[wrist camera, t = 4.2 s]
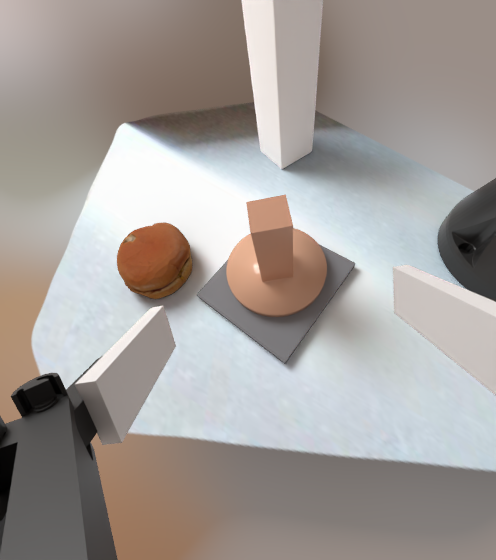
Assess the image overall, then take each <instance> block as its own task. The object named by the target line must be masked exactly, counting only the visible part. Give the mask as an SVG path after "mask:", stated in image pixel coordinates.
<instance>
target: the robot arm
mask: <svg viewBox="0 0 496 560" xmlns="http://www.w3.org/2000/svg"><path fill="white" fill-rule="evenodd" d="M438 248H439V252H440V255H441V257H442V260H443V262H444V263H445V265H446V267H447V268H448V270H449V271H450V272H451V274H452V275H453V276H454V277H455V278H456V279H457V280H458V281H459V282H460V283H461V284H462V285H463V286H465V287H466V288H467V289H468V290H467V289H464V288H462V287H459V286H457V285H455V284H452V283H450V282H448V281H445V280H443V279H440V278H438V277H436V276H433V275H431V274H428V273H426V272H424V271H421V270H419V269H417V268H414V267H412V266H409V265H403V266H397V267H393V283H394V313H395V314H396V315H397V316H399V317H400V318H401V319H402V320H404V321H405V322H406V323H407V324H409V325H410V326H411V327H412V328H413V329H415V330H416V331H417V332H418V333H420V334H421V335H422V336H423V337H425V338H426V339H427V340H428V341H429V342H431V343H432V344H433V345H434V346H436V347H437V348H438V349H439V350H441V351H442V352H443V353H444V354H445V355H447V356H448V357H449V358H450V359H452V360H453V361H454V362H455V363H457V364H458V365H459V366H460V367H461V368H463V369H464V370H465V371H466V372H468V373H469V374H470V375H471V376H473V377H474V378H475V379H476V380H477V381H479V382H480V383H481V384H482V385H484V386H485V387H486V388H487V389H489V390H490V391H491V392H492V393H493V394H495V395H496V178H495V179H494V180H492V181H491V182H489V183H487V184H486V185H484V186H483V187H481V188H480V189H478V190H476V191H475V192H473V193H472V194H470V195H468V196H467V197H465V198H464V199H463V200H461V201H460V202H459V203H458V204H457V205H456V206H455V207H454V208H453V210H452V211H451V212H450V213H449V215H448V216H447V217H446V218H445V220H444V221H443V223H442V225H441V227H440V229H439V233H438ZM469 290H470V291H469ZM175 347H176V345H175V342H174V338H173V335H172V332H171V328H170V325H169V322H168V319H167V315H166V312H165V309H164V306H158V307H152V308H150V309H149V310H148V311H147V312H146V313H145V314H144V315H143V316H142V317H141V318H140V319H139V320H138V321H137V322H136V323H135V324H134V325H133V326H132V327H131V328H130V329H129V330H128V331H127V332H126V333H125V334H124V335H123V336H122V337H121V338H120V339H119V340H118V341H117V342H116V343H115V344H114V345H113V346H112V347H111V348H110V349H109V350H108V351H107V352H106V353H105V354H104V355H103V356H102V357H100V358H99V359H97V360H96V361H95V362H94V363H93V364H92V365H91V366H90V367H89V369H87V370H86V371H85V372H84V373H83V375H81V376H80V377H79V378H78V379H77V380H76V381H75V382H74V383H73V384H72V385H71V386H70V387H69V388H68V389H67V390H66V389H65V387H64V385H63V383H62V381H61V379H60V377H59V375H58V374H57V373H49V374H45V375H42V376H39V377H36V378H34V379H32V380H30V381H28V382H27V383H25V384H24V385H22V386H20V387H19V388H18V389H17V390H16V391H14V392H13V394H12V395H11V398H12V400H13V402H14V403H15V405H16V407H17V409H18V411H19V412H20V414H21V416H22V418H21V419H18V420H15V421H12V422H9V423H6V424H5V423H4V422H3V420H2V418H1V417H0V560H117V555H116V550H115V546H114V541H113V536H112V532H111V527H110V522H109V518H108V513H107V508H106V504H105V500H104V494H103V490H102V485H101V480H100V476H99V471H98V466H97V462H96V457H95V452H94V449H93V446H92V444H91V443H90V442H91V440H92V439H93V437H94V436H95V435H96V433H97V434H98V436H99V438H100V440H101V442H102V445H105V444H114V443H122V441H123V440H124V438H125V436H126V434H127V432H128V431H129V429H130V427H131V425H132V424H133V422H134V420H135V418H136V416H137V415H138V413H139V411H140V409H141V407H142V406H143V404H144V402H145V400H146V399H147V397H148V395H149V393H150V391H151V390H152V388H153V386H154V384H155V383H156V381H157V379H158V377H159V375H160V374H161V372H162V370H163V368H164V367H165V365H166V363H167V361H168V359H169V358H170V356H171V354H172V352H173V350H174V349H175Z"/></svg>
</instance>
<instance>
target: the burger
mask: <svg viewBox="0 0 496 560" xmlns="http://www.w3.org/2000/svg"><path fill="white" fill-rule="evenodd" d="M117 266H118V271H119V274H120V275H121V277H122V278H123V280H124V282H125V285H126V286H128V288H129V289H130V290H131V291H133V292H135V293H138V294H141V295H144V296H147V297H149V298H153V299H159V298H162V297H165V296H168V295H170V294H172V293H174V292H175V291H176V290H178V289H179V288H180V287H181V286H182V285H183V284H184V283H185V282H186V280H187V279H188V277H189V276H190V273H191V271H192V258H191V253H190V245H189V243H188V241H187V239H186V238H185V237H184V235H183V234H182V233H181V232H180V231H179V229H177V228H176V227H175V226H173V225H171V224H169V223H156V224H154V225H153V226H146V227H143V228H140V229H137V230H134V231H133V232H131V233H130V234H129V235H128V236H127V237H126V238H125V239H124V240H123V242H122V243H121V245H120V248H119V251H118V255H117Z"/></svg>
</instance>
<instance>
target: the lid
mask: <svg viewBox="0 0 496 560" xmlns="http://www.w3.org/2000/svg"><path fill="white" fill-rule="evenodd" d="M246 203H247V210H248V217H249V224H250V231H251V234H249V235H247V236H246V237H245V238H243V239H242V240H241V241H240V242H239V243H238V244H237V245H236V246H235V248H234V249H233V251H232V252H231V254H230V256H229V259H228V262H227V268H226V275H227V281H228V284H229V286H230V289H231V291H232V293H233V295H234V296H235V298H236V299H237V300H238V301H239V302H240V304H241V305H243V306H244V307H245V308H247V309H248V310H250V311H252V312H254V313H256V314H259V315H262V316H267V317H284V316H289V315H292V314H295V313H298V312H300V311H302V310H304V309H305V308H307V307H308V306H309V305H310V304H312V303H313V302H314V301H315V299H316V298H317V297H318V296H319V294H320V292H321V291H322V288H323V286H324V282H325V279H326V274H327V263H326V258H325V255H324V252H323V251H322V249H321V247H320V246H319V244H318V243H317V242H316V241H315V240H314V239H313V238H312V237H310V236H309V235H308V234H306V233H304V232H302V231H300V230H298V229H294V228H293V224H292V219H291V215H290V211H289V207H288V203H287V199H286V195H281V196H276V197H271V198H266V199H261V200H256V201H250V202H246Z"/></svg>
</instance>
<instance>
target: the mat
mask: <svg viewBox="0 0 496 560" xmlns="http://www.w3.org/2000/svg"><path fill="white" fill-rule="evenodd" d="M319 246H320V247H321V249H322V251H323V252H324V255H325V258H326V263H327V274H326V279H325V282H324V286H323V288H322V291H321V292H320V294H319V296H318V297H317V298H316V299H315V301H314V302H313V303H312V304H310V305H309V306H308V307H307V308H305V309H304V310H302V311H300V312H298V313H295V314H292V315H289V316H284V317H267V316H262V315H259V314H256V313H254V312H252V311H250V310H248V309H247V308H245V307H244V306H243V305H241V304H240V302H239V301H238V300H237V299H236V298H235V296H234V295H233V293H232V291H231V289H230V286H229V284H228V281H227V275H226V268H227V262H228V260H227V261H226V262H225V264H224V265H223V266H222V267H221V268H220V269H219V270H218V271H217V272H216V274H215V275H214V276H213V277H212V278H211V279H210V280H209V281H208V282H207V284H206V285H205V286H204V287H203V288H202V289H201V290H200V291H199V292H198V294H197V296H198V297H199V298H200V299H202V300H203V301H204V302H206V303H207V304H208V305H209V306H211V307H212V308H213V309H215V310H216V311H217V312H218V313H220V314H221V315H222V316H224V317H225V318H226V319H228V320H229V321H230V322H231V323H233V324H234V325H235V326H237V327H238V328H239V329H241V330H242V331H243V332H244V333H246V334H247V335H248V336H250V337H251V338H252V339H253V340H255V341H256V342H257V343H259V344H260V345H261V346H263V347H264V348H265V349H266V350H268V351H269V352H270V353H272V354H273V355H274V356H276V357H277V358H278V359H279V360H281V361H282V362H283V363H286V362H287V360H288V359H289V357H290V356H291V355H292V353H293V352H294V350H295V349H296V348H297V346H298V345H299V343H300V342H301V340H302V339H303V338H304V336H305V335H306V333H307V332H308V331H309V329H310V328H311V326H312V325H313V324H314V322H315V321H316V319H317V318H318V317H319V315H320V314H321V312H322V311H323V310H324V308H325V307H326V305H327V304H328V302H329V301H330V300H331V298H332V297H333V295H334V294H335V293H336V291H337V290H338V288H339V287H340V286H341V284H342V283H343V281H344V280H345V279H346V277H347V276H348V274H349V273H350V272H351V270H352V269H353V267H354V265H355V263H354V262H352V261H350V260H348V259H346V258H344V257H342V256H340V255H338V254H337V253H335V252H333V251H331V250H329V249H327V248H325V247H323V246H321V245H319Z"/></svg>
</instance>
